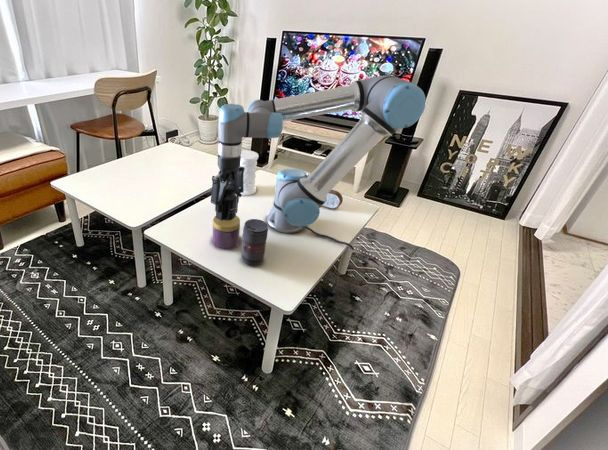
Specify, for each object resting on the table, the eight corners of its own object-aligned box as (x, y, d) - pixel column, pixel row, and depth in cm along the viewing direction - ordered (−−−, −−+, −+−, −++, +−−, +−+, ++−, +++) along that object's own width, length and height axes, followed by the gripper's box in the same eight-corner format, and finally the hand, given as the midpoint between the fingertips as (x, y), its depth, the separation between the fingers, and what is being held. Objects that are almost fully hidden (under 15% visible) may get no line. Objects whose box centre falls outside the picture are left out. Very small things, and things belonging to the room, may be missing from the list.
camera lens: (258, 270, 115) (262, 234, 107) (236, 262, 119) (239, 226, 111) (267, 258, 121) (272, 222, 113) (247, 250, 124) (250, 215, 116)
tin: (340, 209, 150) (345, 192, 146) (338, 212, 148) (343, 194, 143) (307, 200, 157) (310, 183, 152) (305, 202, 155) (308, 186, 150)
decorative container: (230, 194, 161) (232, 158, 151) (233, 183, 171) (235, 149, 161) (255, 196, 160) (258, 160, 150) (256, 185, 169) (259, 150, 159)
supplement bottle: (234, 222, 120) (236, 191, 113) (215, 219, 121) (216, 189, 114) (237, 212, 125) (239, 182, 119) (219, 210, 126) (219, 181, 120)
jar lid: (242, 219, 128) (242, 215, 127) (236, 234, 120) (236, 229, 119) (217, 215, 130) (217, 211, 129) (209, 229, 122) (209, 224, 121)
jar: (241, 236, 132) (243, 216, 127) (235, 251, 124) (236, 230, 119) (216, 232, 135) (217, 212, 130) (209, 246, 127) (209, 226, 122)
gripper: (240, 144, 118) (237, 202, 131) (199, 159, 107) (199, 221, 119) (257, 150, 114) (252, 209, 126) (216, 166, 102) (214, 229, 115)
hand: (226, 215), depth 123 cm, fingers closed on supplement bottle, 7 cm apart
